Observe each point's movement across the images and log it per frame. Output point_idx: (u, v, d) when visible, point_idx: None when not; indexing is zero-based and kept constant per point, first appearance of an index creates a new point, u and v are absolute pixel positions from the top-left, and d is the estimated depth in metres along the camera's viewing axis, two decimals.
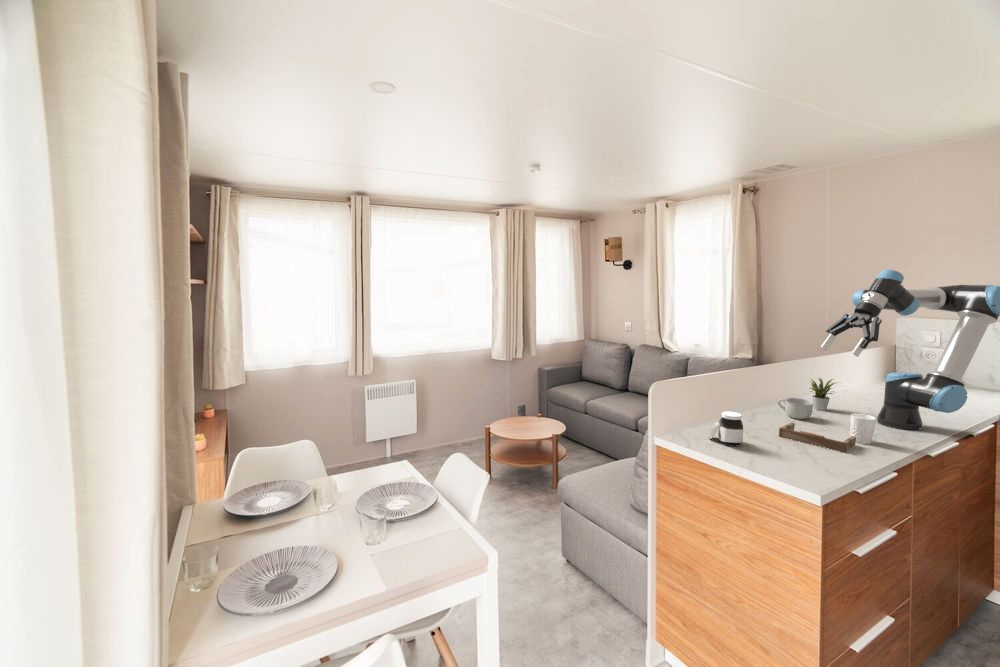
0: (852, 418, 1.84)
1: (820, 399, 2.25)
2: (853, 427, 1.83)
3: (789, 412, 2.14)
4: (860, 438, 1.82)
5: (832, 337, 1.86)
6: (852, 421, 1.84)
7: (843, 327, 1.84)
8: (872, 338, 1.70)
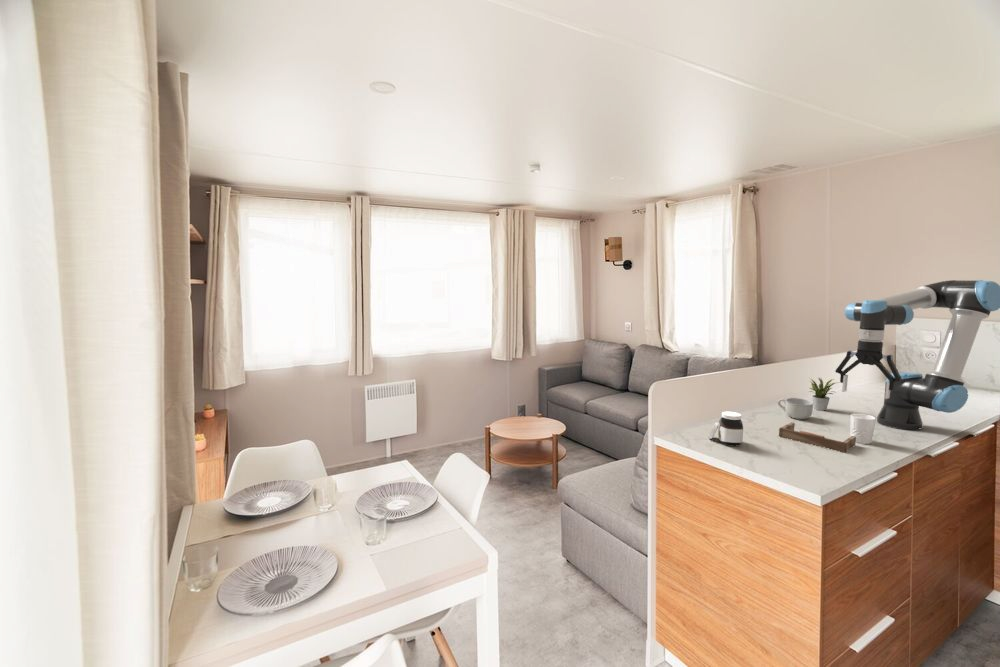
0: (852, 418, 1.84)
1: (820, 399, 2.25)
2: (853, 427, 1.83)
3: (789, 412, 2.14)
4: (860, 438, 1.82)
5: (846, 377, 1.87)
6: (852, 421, 1.84)
7: (853, 366, 1.84)
8: (898, 380, 1.74)
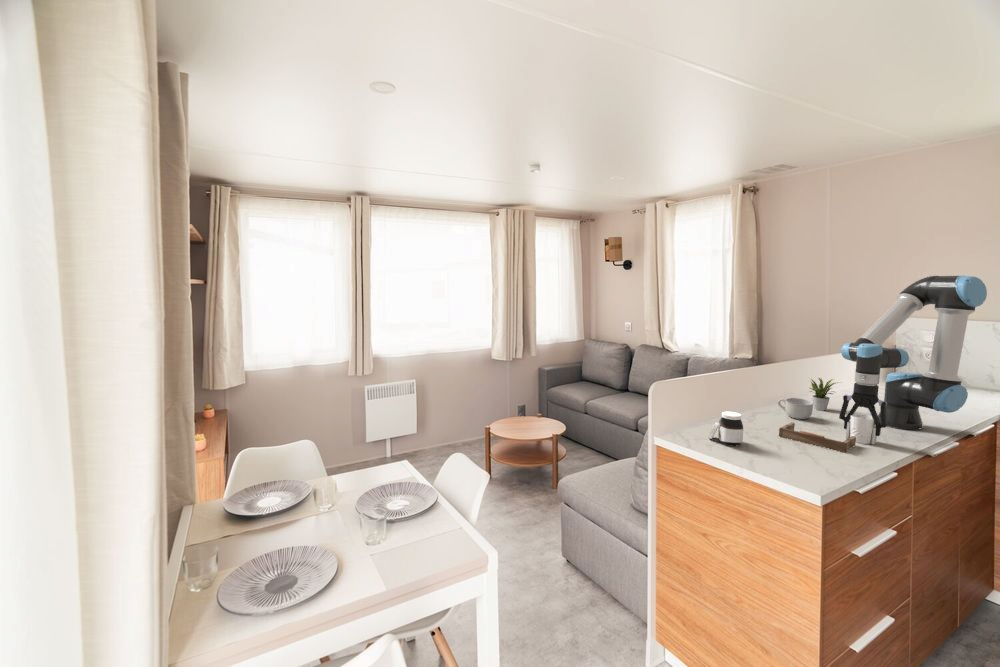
0: (852, 418, 1.84)
1: (820, 399, 2.25)
2: (853, 427, 1.83)
3: (789, 412, 2.14)
4: (860, 438, 1.82)
5: None
6: (852, 421, 1.84)
7: (854, 411, 1.85)
8: None
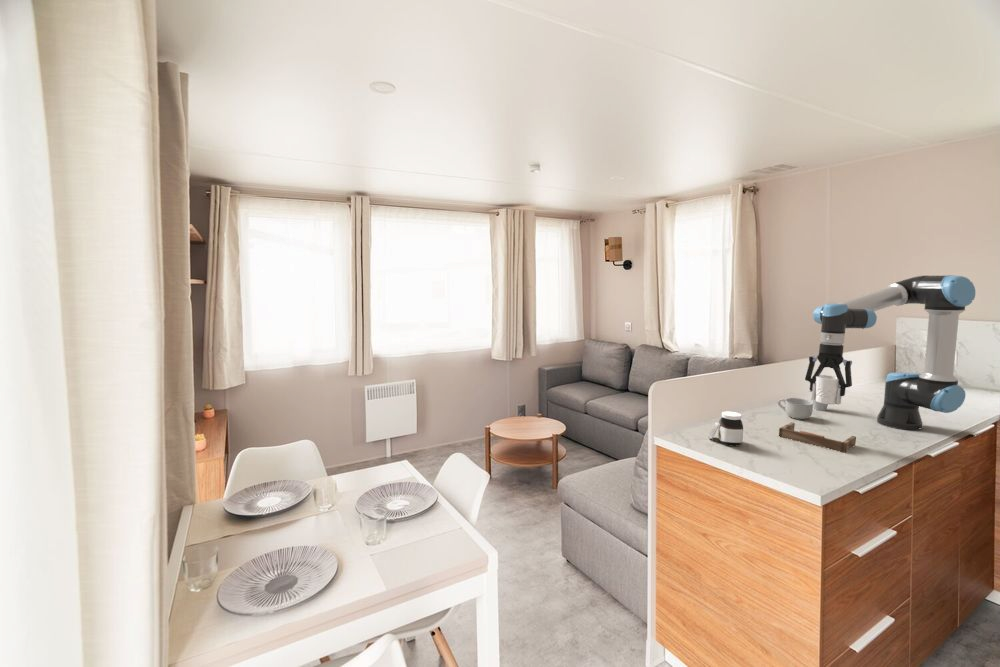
0: (817, 379, 1.82)
1: None
2: (818, 388, 1.82)
3: (789, 412, 2.14)
4: (825, 399, 1.80)
5: None
6: (817, 382, 1.82)
7: (819, 372, 1.83)
8: (848, 386, 1.77)
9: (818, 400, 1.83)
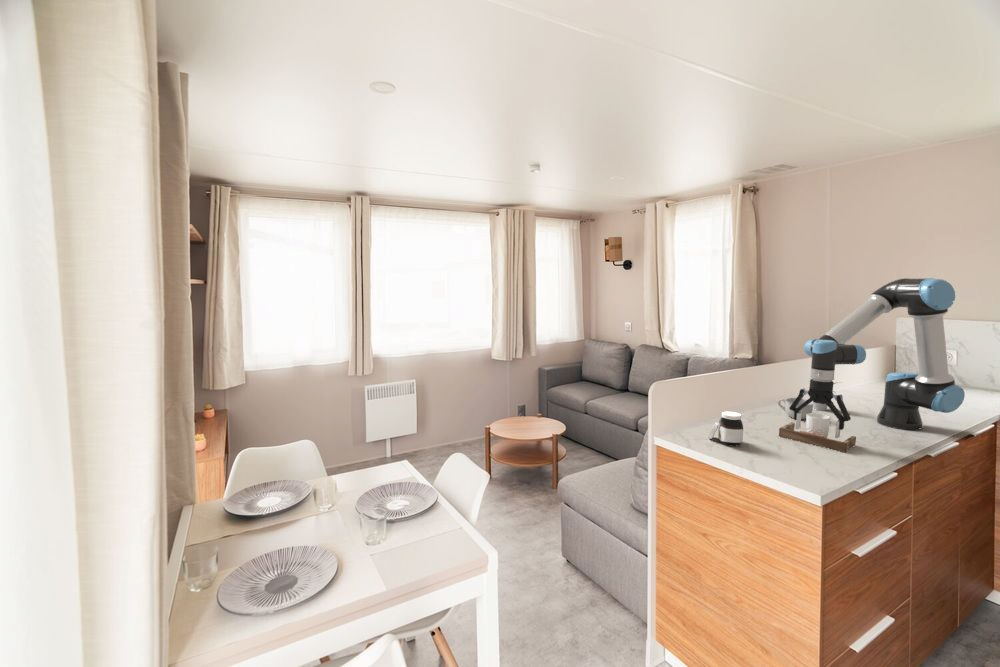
0: (807, 417, 1.85)
1: None
2: (808, 426, 1.84)
3: (789, 412, 2.14)
4: None
5: (800, 415, 1.89)
6: (807, 420, 1.85)
7: (806, 405, 1.86)
8: (847, 420, 1.76)
9: None
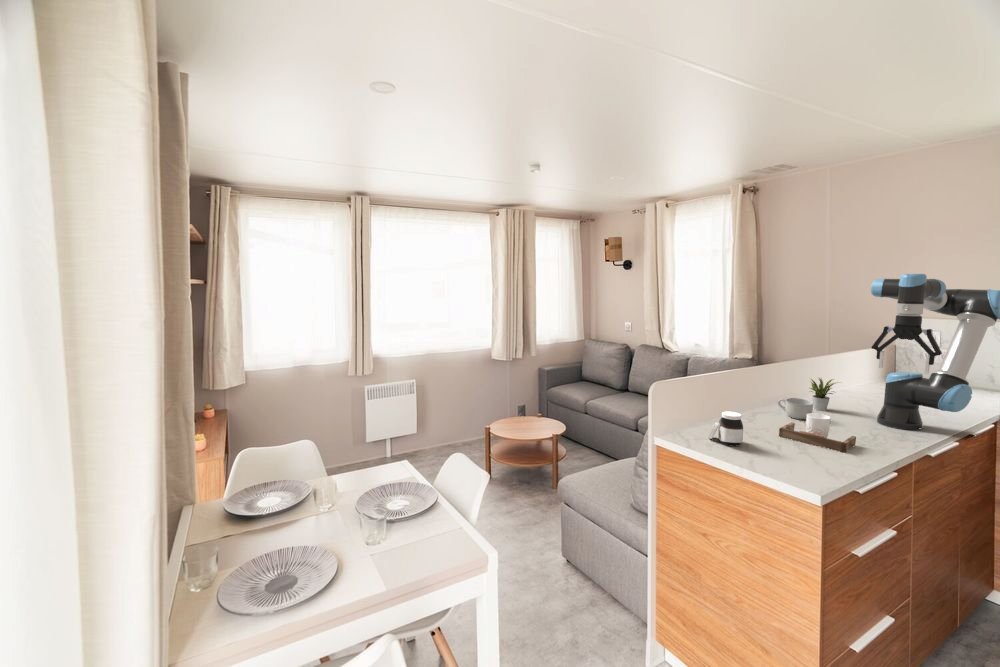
0: (807, 417, 1.85)
1: (820, 399, 2.25)
2: (808, 426, 1.84)
3: (789, 412, 2.14)
4: None
5: (883, 353, 1.83)
6: (807, 420, 1.85)
7: (891, 342, 1.81)
8: (939, 354, 1.70)
9: None
